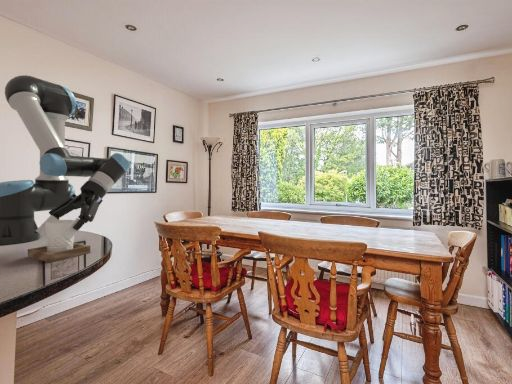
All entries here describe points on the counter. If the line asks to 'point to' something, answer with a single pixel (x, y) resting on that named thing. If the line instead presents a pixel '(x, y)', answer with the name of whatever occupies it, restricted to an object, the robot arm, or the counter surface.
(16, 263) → the counter surface
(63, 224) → the white cup
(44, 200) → the robot arm
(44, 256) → the walnut coaster tray
